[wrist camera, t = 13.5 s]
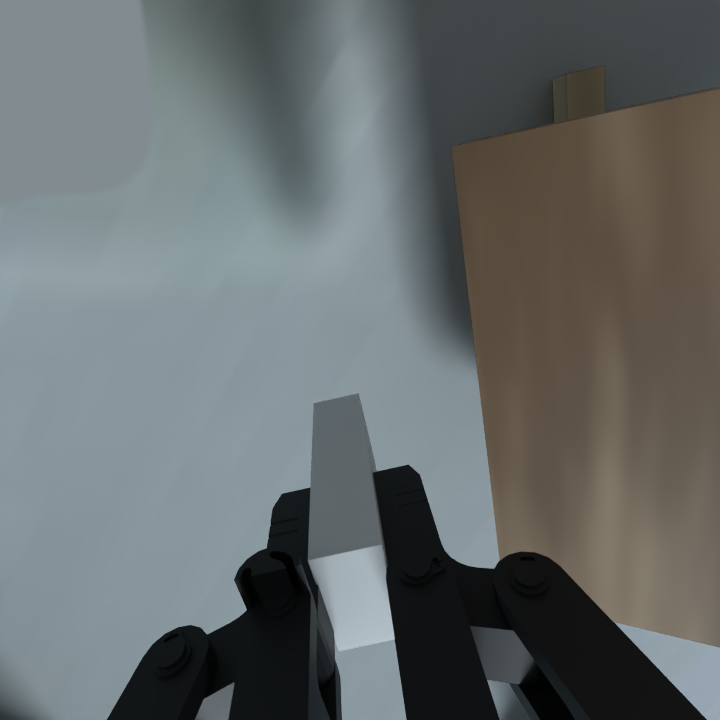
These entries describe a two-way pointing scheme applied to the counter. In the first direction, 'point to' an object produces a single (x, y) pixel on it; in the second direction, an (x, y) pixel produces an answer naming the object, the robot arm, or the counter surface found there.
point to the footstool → (604, 351)
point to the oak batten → (579, 94)
